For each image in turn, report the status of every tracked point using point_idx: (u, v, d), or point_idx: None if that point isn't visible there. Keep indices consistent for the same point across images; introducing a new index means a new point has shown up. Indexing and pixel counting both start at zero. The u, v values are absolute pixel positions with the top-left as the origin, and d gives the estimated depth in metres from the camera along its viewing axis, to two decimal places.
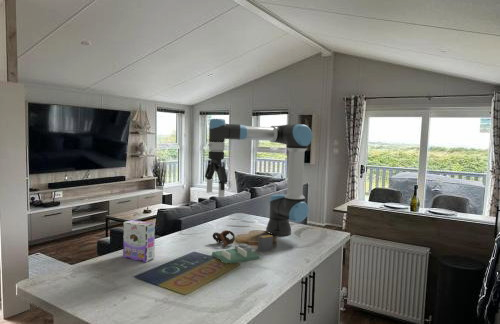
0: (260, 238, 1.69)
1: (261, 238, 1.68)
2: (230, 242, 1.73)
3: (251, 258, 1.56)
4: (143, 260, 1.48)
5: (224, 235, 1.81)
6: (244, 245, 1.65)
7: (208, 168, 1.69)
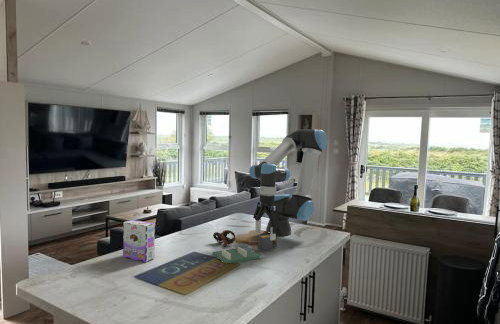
0: (260, 238, 1.69)
1: (261, 238, 1.68)
2: (231, 242, 1.74)
3: (251, 258, 1.56)
4: (143, 260, 1.48)
5: (224, 235, 1.81)
6: (244, 245, 1.65)
7: (257, 210, 1.75)
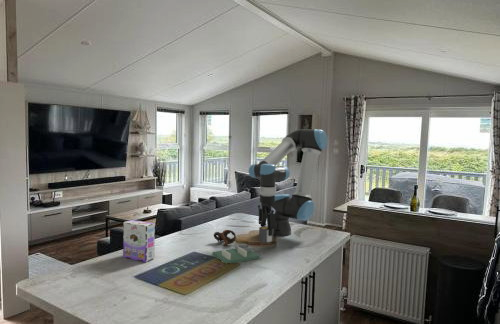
0: (261, 229, 1.69)
1: (262, 229, 1.68)
2: (231, 241, 1.75)
3: (251, 258, 1.56)
4: (143, 260, 1.48)
5: (225, 234, 1.82)
6: (244, 245, 1.65)
7: (260, 213, 1.73)
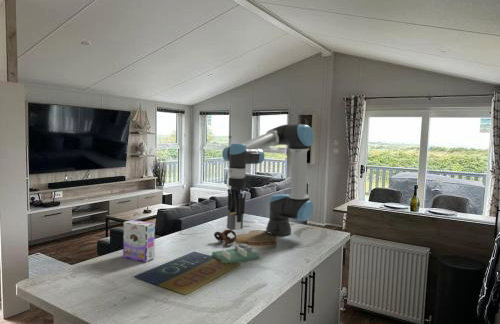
0: (229, 215, 1.54)
1: (230, 215, 1.53)
2: (232, 241, 1.75)
3: (251, 258, 1.56)
4: (143, 260, 1.48)
5: (225, 234, 1.82)
6: (244, 245, 1.65)
7: (229, 198, 1.59)
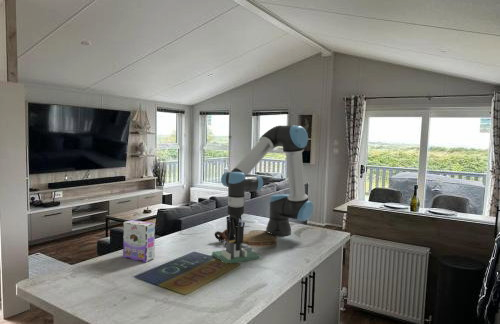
0: (228, 243, 1.55)
1: (229, 243, 1.54)
2: None
3: (251, 258, 1.56)
4: (143, 260, 1.48)
5: (226, 234, 1.83)
6: (244, 245, 1.65)
7: (228, 225, 1.59)
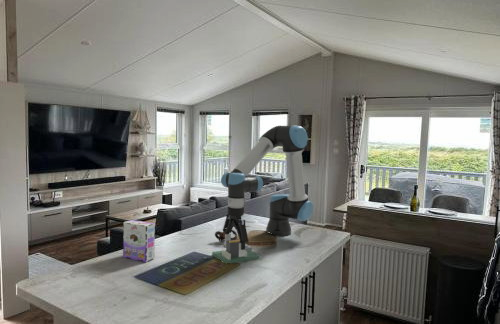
0: (228, 243, 1.55)
1: (229, 243, 1.54)
2: None
3: (251, 258, 1.56)
4: (143, 260, 1.48)
5: None
6: None
7: (226, 222, 1.61)
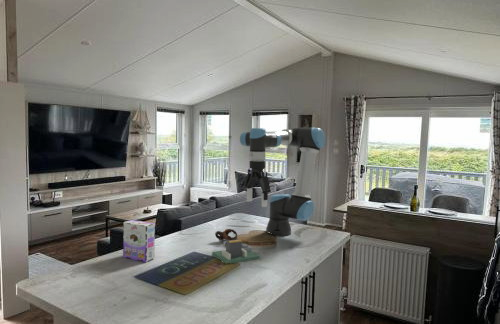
0: (228, 243, 1.55)
1: (229, 243, 1.54)
2: None
3: (251, 258, 1.56)
4: (143, 260, 1.48)
5: (226, 233, 1.84)
6: (244, 245, 1.65)
7: (248, 177, 1.68)
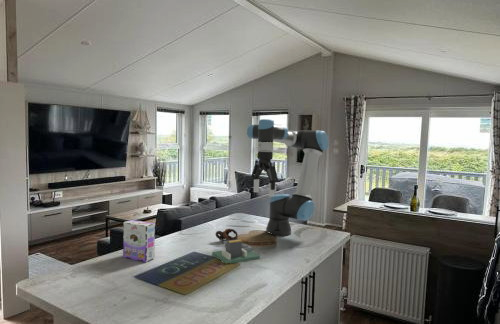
0: (228, 243, 1.55)
1: (229, 243, 1.54)
2: None
3: (251, 258, 1.56)
4: (143, 260, 1.48)
5: (226, 233, 1.84)
6: (244, 245, 1.65)
7: (255, 168, 1.71)
